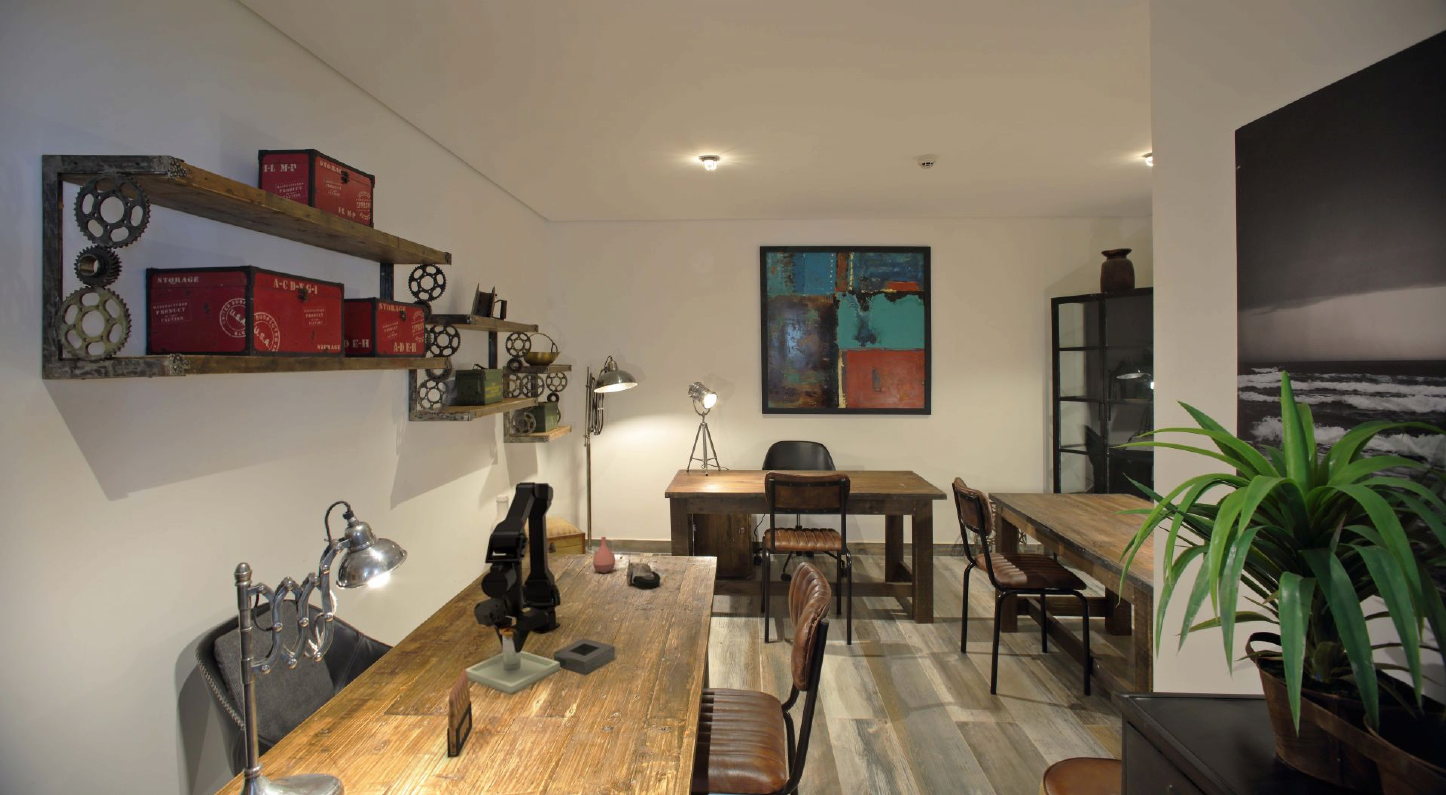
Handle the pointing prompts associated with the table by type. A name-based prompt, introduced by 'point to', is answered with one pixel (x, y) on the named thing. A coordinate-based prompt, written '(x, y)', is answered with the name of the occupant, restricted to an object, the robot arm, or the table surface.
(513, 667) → the light grey cylindrical piece
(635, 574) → the caster wheel
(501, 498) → the bottle
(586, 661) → the block
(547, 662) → the tray
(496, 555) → the robot arm
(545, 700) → the table surface
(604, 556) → the pink vase
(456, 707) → the ammunition clip
